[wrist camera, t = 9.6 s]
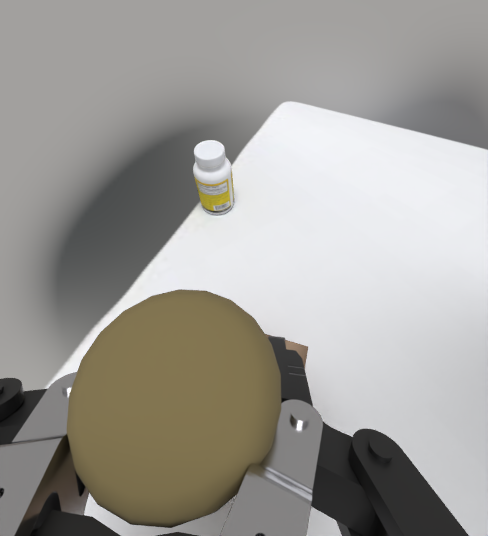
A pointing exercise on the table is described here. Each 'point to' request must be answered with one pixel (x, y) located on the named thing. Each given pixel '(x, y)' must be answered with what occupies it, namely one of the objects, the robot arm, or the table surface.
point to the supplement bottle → (213, 177)
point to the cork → (173, 408)
